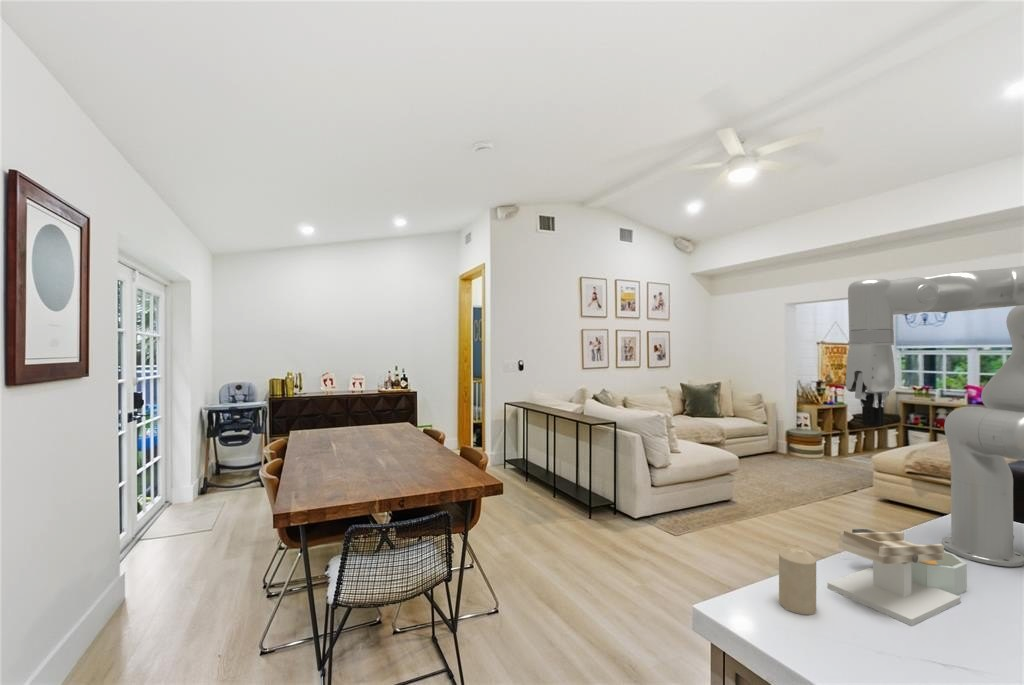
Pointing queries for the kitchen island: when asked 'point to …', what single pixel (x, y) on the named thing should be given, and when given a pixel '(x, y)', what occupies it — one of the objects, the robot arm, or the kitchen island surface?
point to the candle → (797, 580)
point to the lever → (887, 547)
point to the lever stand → (894, 592)
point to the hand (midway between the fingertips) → (873, 425)
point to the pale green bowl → (942, 574)
